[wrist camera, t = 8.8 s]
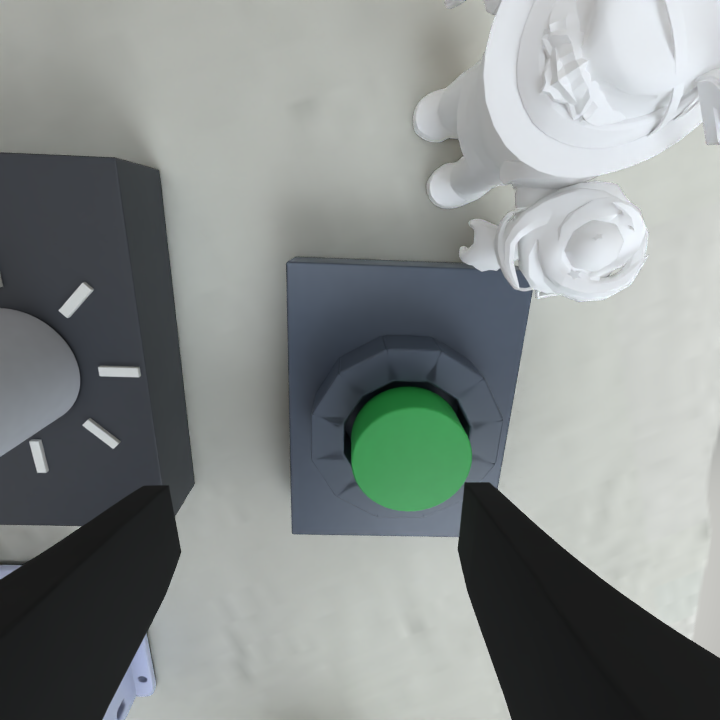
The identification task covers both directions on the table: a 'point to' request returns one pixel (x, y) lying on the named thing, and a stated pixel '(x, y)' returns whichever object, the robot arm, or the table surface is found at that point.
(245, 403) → the table surface
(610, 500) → the table surface
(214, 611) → the table surface
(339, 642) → the table surface
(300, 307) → the block
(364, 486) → the button
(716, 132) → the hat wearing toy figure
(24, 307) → the panel
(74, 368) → the program dial
